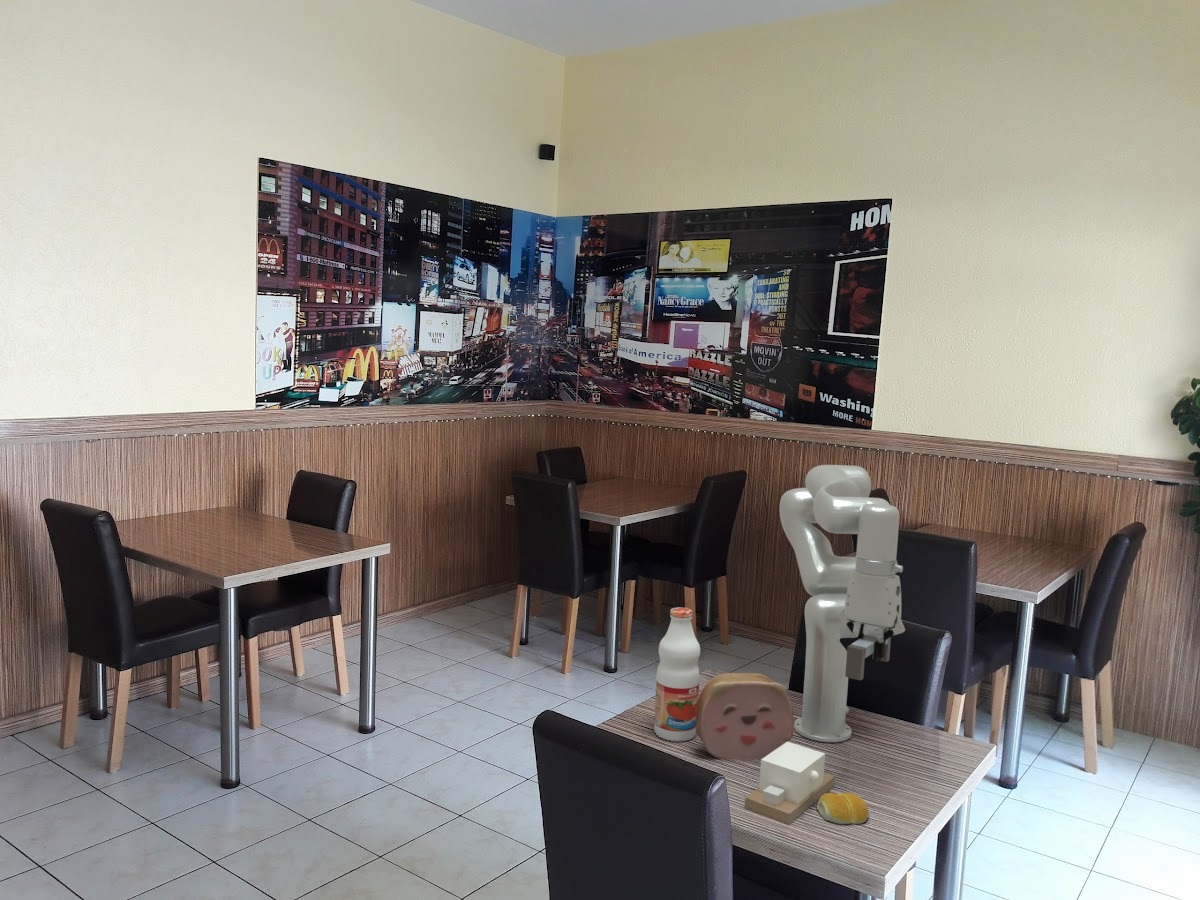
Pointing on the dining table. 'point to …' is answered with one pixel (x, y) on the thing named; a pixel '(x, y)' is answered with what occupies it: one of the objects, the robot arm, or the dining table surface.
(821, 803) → the bread roll
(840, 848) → the dining table surface
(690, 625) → the fruit juice
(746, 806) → the white block on board
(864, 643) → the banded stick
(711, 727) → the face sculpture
